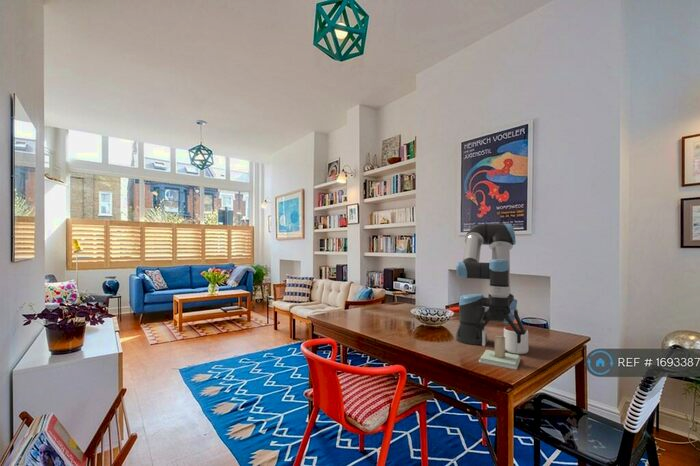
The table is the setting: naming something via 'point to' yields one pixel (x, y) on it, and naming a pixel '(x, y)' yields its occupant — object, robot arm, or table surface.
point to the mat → (502, 365)
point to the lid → (500, 354)
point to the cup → (510, 341)
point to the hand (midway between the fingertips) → (499, 348)
